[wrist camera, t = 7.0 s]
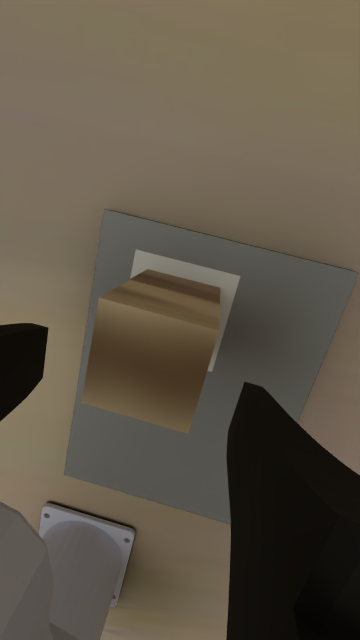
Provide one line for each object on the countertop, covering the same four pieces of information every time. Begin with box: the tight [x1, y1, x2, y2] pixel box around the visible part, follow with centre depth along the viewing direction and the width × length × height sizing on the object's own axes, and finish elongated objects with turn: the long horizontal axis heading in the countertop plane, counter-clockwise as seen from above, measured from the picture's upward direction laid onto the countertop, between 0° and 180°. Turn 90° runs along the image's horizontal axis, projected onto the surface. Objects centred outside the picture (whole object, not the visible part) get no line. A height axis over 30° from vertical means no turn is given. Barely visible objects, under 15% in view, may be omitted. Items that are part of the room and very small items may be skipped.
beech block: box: [81, 280, 220, 434], centre depth 14 cm, size 4×4×4 cm
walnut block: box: [129, 269, 220, 304], centre depth 18 cm, size 4×4×4 cm
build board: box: [64, 209, 359, 524], centre depth 21 cm, size 20×15×1 cm
